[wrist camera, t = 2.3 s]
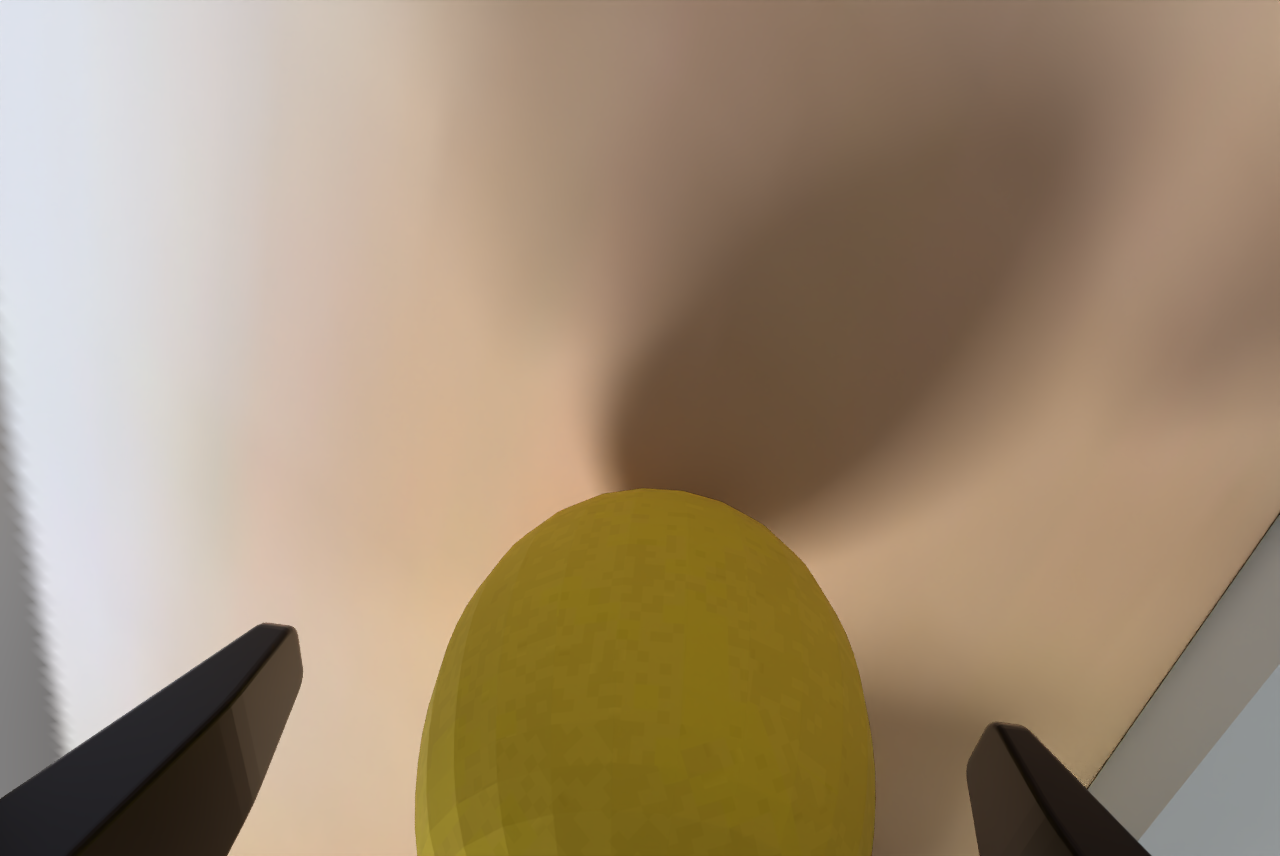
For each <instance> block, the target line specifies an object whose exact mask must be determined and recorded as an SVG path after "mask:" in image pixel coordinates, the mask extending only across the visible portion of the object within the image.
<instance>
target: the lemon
mask: <svg viewBox="0 0 1280 856" xmlns="http://www.w3.org/2000/svg"><path fill="white" fill-rule="evenodd" d="M875 802H876V795H875V764H874V754H873V743H872V737H871V731H870V725H869V720H868V714H867V709H866V704H865V699H864V694H863V689H862V684H861V679H860V675H859V671H858V668H857V664H856V660H855V657H854V653H853V651H852V648H851V645H850V643H849V640H848V638H847V635H846V633H845V631H844V629H843V627H842V625H841V623H840V621H839V619H838V617H837V615H836V613H835V611H834V610H833V608H832V606H831V605H830V603H829V601H828V600H827V598H826V596H825V595H824V593H823V592H822V590H821V588H820V587H819V585H818V583H817V582H816V580H815V578H814V577H813V575H812V574H811V573H810V571H809V570H808V568H807V567H806V565H805V564H804V563H803V562H802V561H801V560H800V559H799V558H798V556H797V555H796V554H795V553H794V552H793V551H792V550H790V549H789V548H788V547H787V546H786V545H785V544H784V543H783V542H782V541H781V540H780V539H778V538H777V537H776V536H775V535H774V534H773V533H772V532H771V531H770V530H769V529H768V528H766V527H765V526H764V525H762V524H761V523H759V522H758V521H756V520H754V519H753V518H751V517H749V516H747V515H745V514H743V513H742V512H740V511H738V510H736V509H734V508H732V507H730V506H729V505H727V504H725V503H723V502H721V501H718V500H714V499H711V498H707V497H703V496H700V495H696V494H692V493H689V492H685V491H678V490H663V489H648V488H640V489H633V490H626V491H619V492H612V493H605V494H601V495H599V496H596V497H594V498H591V499H588V500H586V501H583V502H581V503H578V504H576V505H573V506H570V507H568V508H566V509H564V510H561V511H559V512H557V513H556V514H554V515H553V516H552V517H550V518H549V519H547V520H546V521H545V522H543V523H542V524H540V525H539V526H538V527H536V528H535V529H533V530H532V531H531V532H529V533H528V534H526V535H525V536H524V537H523V538H521V539H520V540H519V541H518V542H516V543H515V544H514V545H513V546H512V547H511V548H510V550H509V551H508V552H507V553H506V554H505V555H504V557H503V558H502V559H501V560H500V561H499V563H498V564H497V565H496V567H495V568H494V569H493V570H492V572H491V573H490V574H489V575H488V577H487V578H486V579H485V581H484V582H483V583H482V584H481V586H480V587H479V588H478V590H477V591H476V593H475V594H474V596H473V597H472V599H471V600H470V602H469V603H468V605H467V606H466V608H465V610H464V612H463V614H462V616H461V617H460V619H459V621H458V623H457V625H456V627H455V630H454V632H453V634H452V637H451V639H450V642H449V644H448V646H447V649H446V653H445V656H444V659H443V662H442V665H441V668H440V671H439V674H438V677H437V680H436V684H435V687H434V690H433V693H432V697H431V700H430V703H429V706H428V710H427V715H426V719H425V724H424V728H423V733H422V739H421V746H420V753H419V759H418V769H417V781H416V792H415V834H416V845H417V856H871V855H872V846H873V838H874V825H875Z"/></svg>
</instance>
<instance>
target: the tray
mask: <svg viewBox="0 0 1280 856" xmlns="http://www.w3.org/2000/svg"><path fill="white" fill-rule="evenodd" d="M1088 791H1089V792H1090V793H1091V794H1092V795H1093V796H1094V797H1095V798H1096V799H1097V800H1098V801H1099V802H1100V803H1101V804H1102V805H1103V806H1104V807H1105V808H1106V809H1107V810H1108V811H1109V812H1110V813H1111V814H1112V815H1113V816H1114V817H1115V819H1116V820H1117V821H1118V822H1119V823H1120V824H1121V825H1122V826H1123V827H1124V828H1125V829H1126V830H1127V831H1128V832H1129V833H1130V834H1131V835H1132V836H1133V837H1134V838H1135V839H1136V840H1137V841H1138V842H1139V843H1140V844H1141V845H1142V846H1143V847H1144V848H1145V849H1146V850H1147V851H1148V852H1149V853H1150V854H1151V855H1152V856H1280V514H1279V516H1278V517H1277V519H1276V520H1275V522H1274V523H1273V524H1272V526H1271V527H1270V529H1269V530H1268V532H1267V533H1266V535H1265V536H1264V537H1263V539H1262V540H1261V542H1260V543H1259V545H1258V546H1257V547H1256V549H1255V550H1254V552H1253V553H1252V555H1251V556H1250V557H1249V559H1248V560H1247V562H1246V563H1245V565H1244V566H1243V567H1242V569H1241V570H1240V572H1239V573H1238V575H1237V576H1236V577H1235V579H1234V580H1233V582H1232V583H1231V585H1230V586H1229V588H1228V589H1227V590H1226V592H1225V593H1224V595H1223V596H1222V598H1221V599H1220V600H1219V602H1218V603H1217V605H1216V606H1215V608H1214V609H1213V610H1212V612H1211V613H1210V615H1209V616H1208V618H1207V619H1206V620H1205V622H1204V623H1203V625H1202V626H1201V628H1200V629H1199V631H1198V632H1197V633H1196V635H1195V636H1194V638H1193V639H1192V641H1191V642H1190V643H1189V645H1188V646H1187V648H1186V649H1185V651H1184V652H1183V653H1182V655H1181V656H1180V658H1179V659H1178V661H1177V662H1176V663H1175V665H1174V666H1173V668H1172V669H1171V671H1170V672H1169V673H1168V675H1167V676H1166V678H1165V679H1164V681H1163V682H1162V684H1161V685H1160V686H1159V688H1158V689H1157V691H1156V692H1155V694H1154V695H1153V696H1152V698H1151V699H1150V701H1149V702H1148V704H1147V705H1146V706H1145V708H1144V709H1143V711H1142V712H1141V714H1140V715H1139V716H1138V718H1137V719H1136V721H1135V722H1134V724H1133V725H1132V726H1131V728H1130V729H1129V731H1128V732H1127V734H1126V735H1125V737H1124V738H1123V739H1122V741H1121V742H1120V744H1119V745H1118V747H1117V748H1116V749H1115V751H1114V752H1113V754H1112V755H1111V757H1110V758H1109V759H1108V761H1107V762H1106V764H1105V765H1104V767H1103V768H1102V769H1101V771H1100V772H1099V774H1098V775H1097V777H1096V778H1095V780H1094V781H1093V782H1092V784H1091V785H1090V787H1089V788H1088Z"/></svg>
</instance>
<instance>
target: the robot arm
mask: <svg viewBox="0 0 1280 856" xmlns="http://www.w3.org/2000/svg"><path fill="white" fill-rule="evenodd" d="M302 678H303V666H302V659H301V652H300V646H299V639H298V634H297V631H296V629H295V628H294V627H292V626H289V625H281V624H274V623H262V624H259V625H257V626H255V627H254V628H252V629H251V630H249V631H248V632H246V633H245V634H243V635H242V636H241V637H239V638H238V639H236V640H235V641H233V642H232V643H230V644H229V645H227V646H226V647H224V648H223V649H221V650H220V651H218V652H217V653H215V654H214V655H212V656H211V657H209V658H208V659H206V660H205V661H203V662H202V663H201V664H199V665H198V666H196V667H195V668H193V669H192V670H190V671H189V672H187V673H186V674H184V675H183V676H181V677H180V678H178V679H177V680H175V681H174V682H172V683H171V684H169V685H168V686H166V687H165V688H163V689H162V690H161V691H159V692H158V693H156V694H155V695H153V696H152V697H150V698H149V699H147V700H146V701H144V702H143V703H141V704H140V705H138V706H137V707H135V708H134V709H132V710H131V711H129V712H128V713H126V714H125V715H123V716H122V717H121V718H119V719H118V720H116V721H115V722H113V723H112V724H110V725H109V726H107V727H106V728H104V729H103V730H101V731H100V732H98V733H97V734H95V735H94V736H92V737H91V738H89V739H88V740H86V741H85V742H83V743H82V744H81V745H79V746H78V747H76V748H75V749H73V750H72V751H70V752H69V753H67V754H66V755H64V756H63V757H61V758H60V759H58V760H57V761H55V762H54V763H52V764H51V765H49V766H48V767H46V768H45V769H43V770H42V771H41V772H39V773H38V774H36V775H35V776H33V777H32V778H31V779H29V780H27V781H26V782H24V783H23V784H21V785H20V786H18V787H17V788H16V789H14V790H13V791H11V792H9V793H8V794H6V795H5V796H4V797H2V798H1V799H0V856H227V855H228V853H229V851H230V849H231V847H232V845H233V844H234V842H235V840H236V838H237V836H238V834H239V832H240V830H241V828H242V826H243V824H244V822H245V820H246V818H247V816H248V814H249V812H250V810H251V808H252V806H253V804H254V802H255V799H256V797H257V795H258V792H259V790H260V788H261V785H262V783H263V780H264V778H265V775H266V773H267V770H268V768H269V765H270V763H271V760H272V758H273V755H274V753H275V750H276V748H277V745H278V742H279V740H280V737H281V735H282V732H283V730H284V727H285V725H286V722H287V720H288V717H289V715H290V712H291V710H292V707H293V705H294V702H295V700H296V697H297V695H298V692H299V689H300V687H301V683H302ZM966 772H967V783H968V789H969V795H970V801H971V807H972V813H973V819H974V825H975V831H976V837H977V843H978V849H979V855H980V856H1152V855H1151V854H1150V853H1149V852H1148V851H1147V850H1146V849H1145V848H1144V847H1143V846H1142V845H1141V844H1140V843H1139V842H1138V841H1137V840H1136V839H1135V838H1134V837H1133V836H1132V835H1131V834H1130V833H1129V832H1128V831H1127V830H1126V829H1125V828H1124V827H1123V826H1122V825H1121V824H1120V823H1119V822H1118V821H1117V820H1116V819H1115V817H1114V816H1113V815H1112V814H1111V813H1110V812H1109V811H1108V810H1107V809H1106V808H1105V807H1104V806H1103V805H1102V804H1101V803H1100V802H1099V801H1098V800H1097V799H1096V798H1095V797H1094V796H1093V795H1092V794H1091V793H1090V792H1089V791H1088V790H1087V789H1086V788H1085V787H1084V786H1083V785H1082V784H1081V783H1080V782H1079V781H1078V780H1077V779H1076V777H1075V776H1074V775H1073V774H1072V773H1071V772H1070V771H1069V770H1068V769H1067V768H1066V767H1065V766H1064V765H1063V764H1062V763H1061V762H1060V761H1059V760H1058V759H1057V758H1056V757H1055V756H1054V755H1053V754H1052V753H1051V752H1050V751H1049V750H1048V749H1047V748H1046V747H1045V746H1044V745H1043V744H1042V743H1041V742H1040V741H1039V740H1038V739H1037V738H1036V736H1035V735H1034V734H1033V733H1032V732H1030V731H1029V730H1028V729H1027V728H1025V727H1024V726H1021V725H1017V724H1010V723H1002V722H992V723H991V724H989V725H988V726H987V727H986V729H985V731H984V732H983V734H982V736H981V738H980V740H979V741H978V743H977V745H976V747H975V749H974V751H973V752H972V754H971V756H970V758H969V761H968V764H967V771H966Z"/></svg>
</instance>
